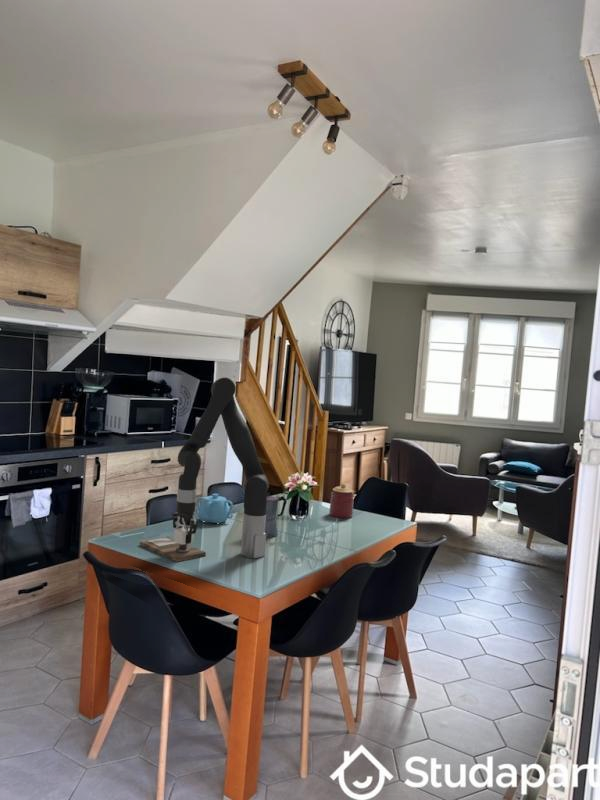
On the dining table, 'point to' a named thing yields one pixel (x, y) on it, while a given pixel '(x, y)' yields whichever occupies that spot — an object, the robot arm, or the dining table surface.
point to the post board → (172, 549)
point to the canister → (341, 502)
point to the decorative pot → (214, 509)
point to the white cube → (181, 536)
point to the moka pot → (272, 514)
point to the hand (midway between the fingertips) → (183, 541)
